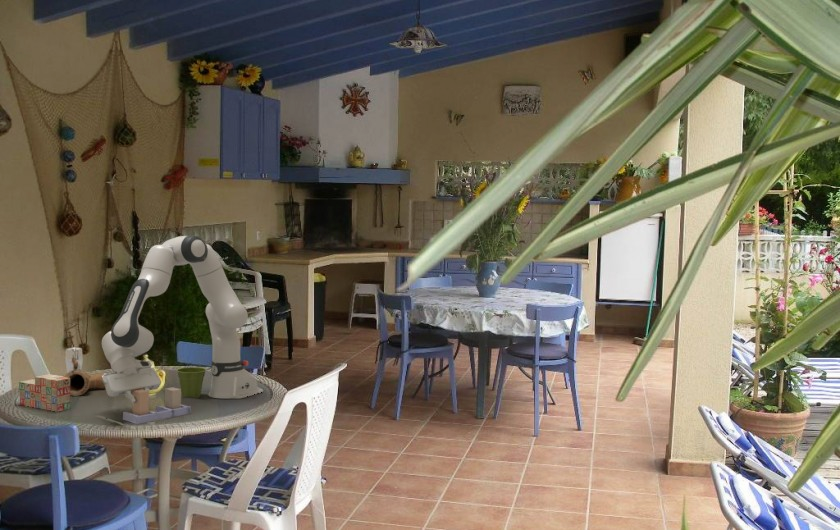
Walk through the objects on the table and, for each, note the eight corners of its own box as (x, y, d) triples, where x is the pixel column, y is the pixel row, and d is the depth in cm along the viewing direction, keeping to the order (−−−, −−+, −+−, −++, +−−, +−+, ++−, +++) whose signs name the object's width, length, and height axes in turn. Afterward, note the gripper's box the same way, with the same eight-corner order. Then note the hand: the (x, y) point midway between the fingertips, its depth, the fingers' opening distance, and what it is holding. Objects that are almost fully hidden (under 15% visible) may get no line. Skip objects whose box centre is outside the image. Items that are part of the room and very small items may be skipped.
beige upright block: (173, 411, 333) (173, 387, 332) (181, 413, 330) (180, 389, 329) (165, 412, 330) (164, 388, 330) (172, 415, 327) (172, 390, 326)
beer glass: (69, 381, 387) (69, 347, 386) (85, 381, 387) (85, 347, 385) (62, 384, 380) (62, 350, 379) (79, 385, 380) (78, 350, 378)
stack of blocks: (19, 405, 343) (18, 373, 342) (33, 402, 348) (32, 371, 348) (57, 412, 333) (56, 380, 332) (71, 409, 338) (70, 377, 337)
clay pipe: (59, 401, 367) (65, 396, 354) (56, 375, 369) (62, 370, 356) (107, 395, 376) (114, 390, 364) (104, 369, 378) (111, 364, 366)
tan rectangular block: (141, 413, 323) (140, 388, 322) (148, 415, 320) (148, 390, 319) (132, 415, 320) (132, 390, 320) (139, 417, 317) (139, 392, 316)
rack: (175, 411, 337) (175, 402, 336) (190, 415, 330) (190, 406, 330) (122, 421, 320) (122, 412, 320) (137, 426, 314) (137, 417, 313)
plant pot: (196, 401, 353) (195, 373, 352) (170, 399, 357) (170, 371, 356) (212, 395, 364) (212, 368, 363) (187, 393, 368) (187, 365, 367)
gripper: (103, 368, 315) (118, 400, 310) (154, 361, 331) (169, 391, 325) (96, 379, 319) (111, 411, 313) (147, 371, 334) (162, 401, 328)
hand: (141, 401), depth 319 cm, fingers closed on tan rectangular block, 3 cm apart
